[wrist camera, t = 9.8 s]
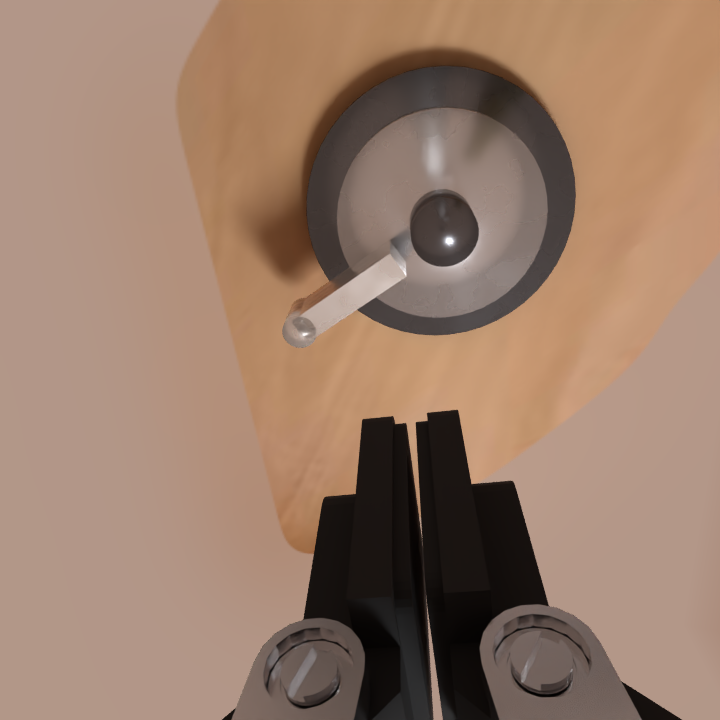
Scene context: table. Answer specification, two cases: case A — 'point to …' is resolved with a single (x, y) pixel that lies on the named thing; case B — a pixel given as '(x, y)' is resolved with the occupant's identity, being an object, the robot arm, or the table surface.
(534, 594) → the robot arm
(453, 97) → the stand
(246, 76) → the table surface
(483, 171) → the dial
